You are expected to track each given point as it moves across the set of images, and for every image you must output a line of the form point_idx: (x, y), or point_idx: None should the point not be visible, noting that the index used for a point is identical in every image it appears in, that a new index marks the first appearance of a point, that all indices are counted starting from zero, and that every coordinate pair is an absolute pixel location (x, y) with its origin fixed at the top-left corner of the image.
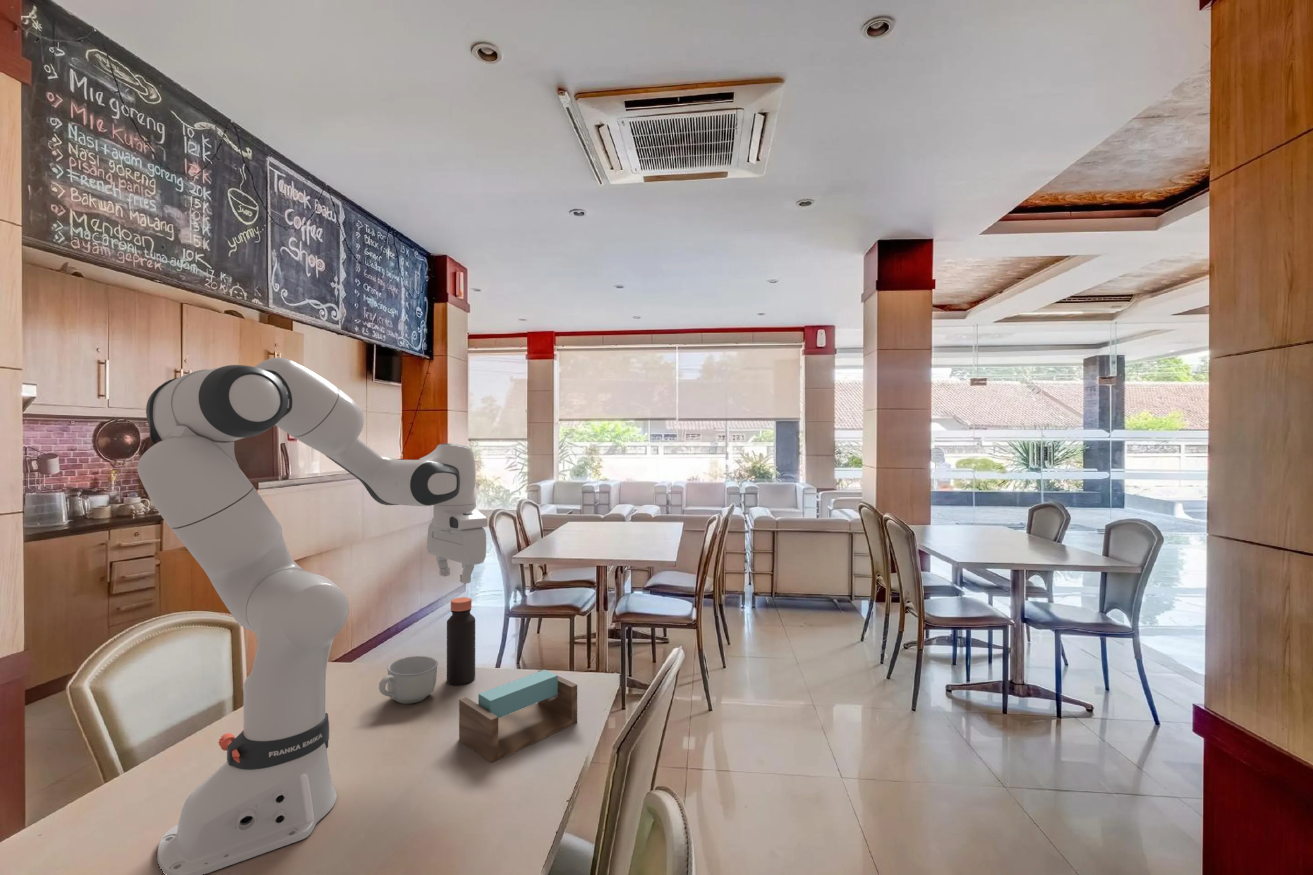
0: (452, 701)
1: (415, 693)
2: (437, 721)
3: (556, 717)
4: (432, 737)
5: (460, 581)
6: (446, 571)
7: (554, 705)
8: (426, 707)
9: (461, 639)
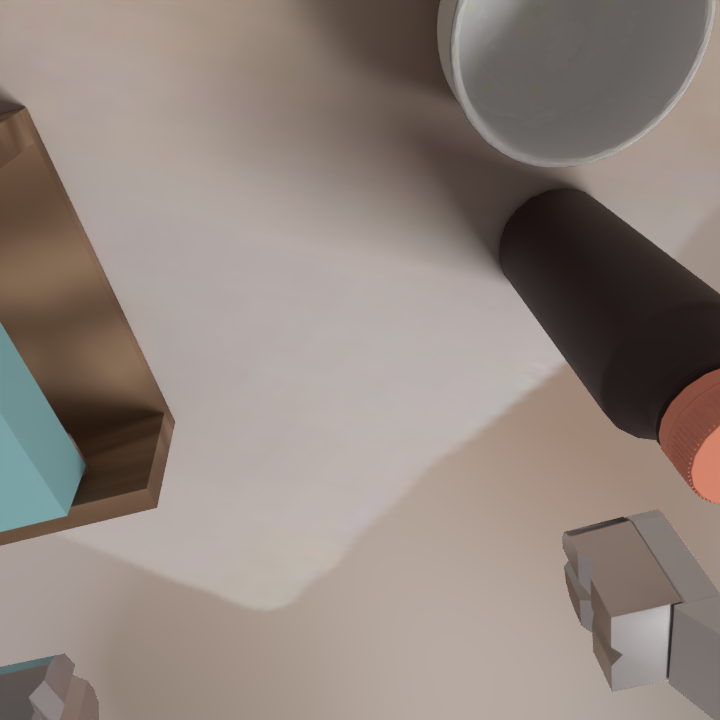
0: (378, 165)
1: (438, 16)
2: (228, 66)
3: None
4: (90, 12)
5: (38, 663)
6: (592, 616)
7: None
8: (387, 54)
9: (573, 319)
